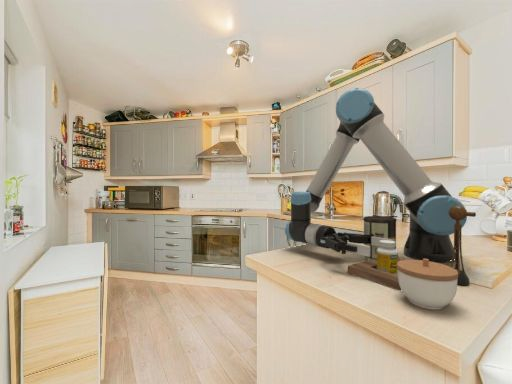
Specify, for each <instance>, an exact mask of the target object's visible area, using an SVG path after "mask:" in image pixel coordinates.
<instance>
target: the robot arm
mask: <svg viewBox="0 0 512 384" xmlns="http://www.w3.org/2000/svg"><path fill="white" fill-rule="evenodd" d="M335 113H336V117H337V119H338V120H339V125H338V128H337V130H336V131H335V135H336V137H335V139H334V140H333V142H332V143H331V145H330V148H329V149H328V150H327V153H326V155H325V157H324V159H323V160H322V162H321V163H320V165H319V167H318V169H317V171H316V173H315V174H314V176H313V178H312V179H311V180H310V183H309V185H308V187H307V189H306V191H292V192H291V194H290V221H288V222H287V223H286V225H285V227H284V233H285V236H286V238H287V239H289V240H291V241H294V242H297V243H298V242H299V243H303V244H308V245H312V247H313V248H315V247H316V248H317V247H320V248H324V249H330V250H332V251H333V252H336V253H340V252H341V254H342V255H346V254H347V253H351V254H355V255H358V256H359V255H361V256H363V257H364V256H368V257H370V246H366V245H364V244H371V245H374V246H379V247H380V245H379V241H380V240H390V241H394V240H392V239H386V238H380V237H374V235H373V234H371V235H365V234H364V233H351V232H346V231H345V232H337V231H336V230H335V228H334V227H333V226H328V225H321V224H316V223H311V222H312V221H311V220H312V218H311V217H312V215H311V214H312V213H315V212H317V210H318V209H319V208H320V205H321V202H322V200H323V199H324V196H325V195H326V193H327V191H328V190H329V188H330V186H331V185H332V182H333V181H334V179H335V178H336V176H337V174H338V172H339V171H340V169H341V168H342V166H343V164H344V162H345V161H346V158H347V157H348V155H349V154H350V152H351V150H352V149H353V147H354V145H356V144H359V142H360V141H361V142H362V144H363V145H364V146H365V147H366V148H367V150H368V151H369V152H370V154H371V155H372V156H373V157H374V158H375V160H376V161H377V163H378V164H379V166H381V168H382V169H383V171H384V172H385V173H386V174H387V175H388V177H389V178H390V179H391V181H392V182H393V183H394V185H395V186H396V187H397V189H398V190H399V191H400V193H401V194H402V195H403V198H404V199H403V204H404V206H405V207H406V209H407V210H408V212H409V233H408V236H407V239H406V240H405V244H404V247H403V254H404V255H405V256H407V257H409V258H412V259H415V260H423V259H429V261H430V262H436V263H448V262H447V261H450V260H453V251H454V244H453V243H452V240H451V237H450V235H454V224H456V220H454V219H452V218H451V217H450V216H449V210H450V208H451V207H453V206H457V205H458V206H462V207H464V208H465V209H466V207H465V205H464V204H463V203H462V202H461V201H460V200H458V198H456V197H453V196H452V194H451V193H450V192H449V191H448V190H447V189H446V187H445V186H444V185H443V183H441V182H438V181H437V182H436V181H433V180H431V179H430V177H429V176H428V175H427V174H426V172H425V171H424V170H423V168H422V167H421V166H420V164H418V162H417V161H416V160H415V159H414V158H413V156H412V155H411V154H410V153H409V151H408V150H407V149H406V147H405V146H404V145H403V144H402V143H401V142H400V140H399V139H398V138H397V137H396V135H394V133H393V131H392V130H391V129H390V128H389V127H388V125H386V123H385V122H384V119H385V114H384V113H383V111H382V110H381V109H380V107H379V106H378V105H377V104H376V102H375V100H374V96H373V94H372V93H371V92H370V91H369V90H367V89H365V88H364V87H354V88H350V89H348V90H346V91H344V92H343V93H342V94H341V95H340V96H339V98H338V100H337V101H336V105H335ZM467 219H468V216H467V217H466V218H465V219H464V220H460V224H461V225H462V227H461V229H463V227H464V226H465V224H466V223H467ZM454 259H455V258H454Z"/></svg>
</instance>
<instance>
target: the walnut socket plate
mask: <svg viewBox="0 0 512 384" xmlns="http://www.w3.org/2000/svg"><path fill="white" fill-rule="evenodd" d="M346 267H347V273H348V274H351V275H353V276H356V277H360V278H363V279H365V280H368V281H371V282H373V283H377V284H380V285H382V286H385V287H389V288H392V289H394V290H396V289H397V290H398V291H399V290H400V291H401V288H400V286H399V282H398V276H397V273H394V274H391V273H388V272H385V271H381V270H378V269H377V258H375V259H371V260H368V259H366V260H364V261H360V262H356V263H352V264H349V265H347V266H346ZM401 292H402V291H401Z"/></svg>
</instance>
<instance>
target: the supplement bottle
mask: <svg viewBox="0 0 512 384" xmlns="http://www.w3.org/2000/svg"><path fill="white" fill-rule="evenodd" d="M379 245H380V247H379V248H378V249H377V269H378V270H381V271H385V272H388V273H391V274H394V273H397V262H399V251H398V250H397V248H396V249H394V248H395V246H396V247H397V241H396V242H394V241H390V240H380V241H379Z"/></svg>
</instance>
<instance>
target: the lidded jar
mask: <svg viewBox="0 0 512 384" xmlns="http://www.w3.org/2000/svg"><path fill="white" fill-rule="evenodd" d="M397 276H398V282H399V286H400V288H401V290H402V291H401V292H402V293H403V295H404V296H405V297H406V298H407V299H408V301H409V302H410V303H411V304H413V305H415V306H417V307H419V308H423V309H426V310H433V311H437V310H443V308H444V307H445V306H447V305H449V304H450V303H452V302H453V301H454V298H455V296H456V294H457V291H458V286H457V278H458V271H457V270H455V267H453V268H452V267H451V266H450V265H446V264H443V263H441V262H433V261H429V259H423V260H420V259H402V260H398V262H397Z"/></svg>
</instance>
